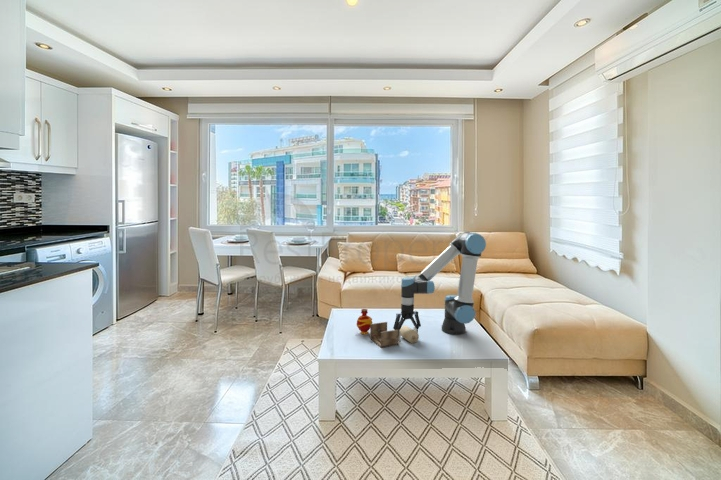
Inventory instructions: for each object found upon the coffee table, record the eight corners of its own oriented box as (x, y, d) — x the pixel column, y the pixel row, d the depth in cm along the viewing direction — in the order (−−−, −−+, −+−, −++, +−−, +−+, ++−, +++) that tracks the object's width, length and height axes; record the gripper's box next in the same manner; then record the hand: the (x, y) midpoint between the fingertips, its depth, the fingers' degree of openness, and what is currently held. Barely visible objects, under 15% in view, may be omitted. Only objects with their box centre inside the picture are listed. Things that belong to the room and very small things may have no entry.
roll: (407, 337, 215) (410, 326, 215) (417, 344, 204) (420, 332, 204) (397, 335, 212) (401, 324, 212) (407, 342, 202) (410, 330, 202)
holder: (386, 335, 215) (386, 321, 214) (398, 345, 201) (398, 329, 200) (370, 338, 211) (370, 324, 210) (381, 347, 197) (381, 332, 196)
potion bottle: (358, 336, 214) (358, 312, 213) (355, 330, 225) (355, 307, 223) (374, 335, 216) (374, 311, 215) (370, 329, 227) (370, 307, 225)
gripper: (420, 300, 214) (420, 334, 216) (387, 304, 205) (387, 340, 207) (427, 303, 207) (426, 339, 209) (393, 307, 198) (393, 344, 200)
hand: (407, 339), depth 208 cm, fingers open, 10 cm apart
